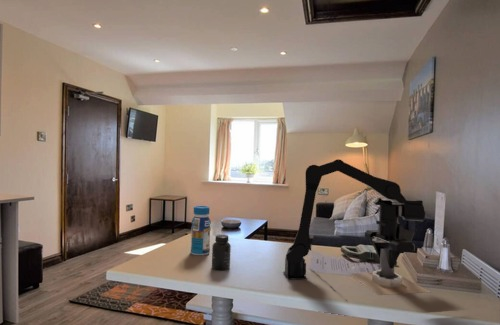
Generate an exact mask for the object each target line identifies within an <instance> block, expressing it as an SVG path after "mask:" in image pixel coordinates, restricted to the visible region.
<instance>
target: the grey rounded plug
mask: <svg viewBox="0 0 500 325" xmlns="http://www.w3.org/2000/svg"><path fill="white" fill-rule="evenodd" d="M379 270H380V276H381V277H385V278H389V279H390V278H394V272H395V267H394V268H390V267H389V264H388V259H387V254H386V250H385V248H380V263H379Z"/></svg>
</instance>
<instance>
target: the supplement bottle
mask: <svg viewBox="0 0 500 325" xmlns="http://www.w3.org/2000/svg"><path fill="white" fill-rule="evenodd" d="M214 240H215V242H214V243H212V249H211V251H212V252H211V268H212V269H213V270H214V271H220V272H224V271H227V270H229V269H230V267H231V250H232V249H231V248H232V246H231V243H229V235H227V234H217V235H215V239H214Z"/></svg>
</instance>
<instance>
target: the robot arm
mask: <svg viewBox="0 0 500 325" xmlns="http://www.w3.org/2000/svg"><path fill="white" fill-rule="evenodd" d="M335 172H339V173H342V174H344V175H345V176H348V177H349V178H352V179H354V180H356V181H358V182H360V183H362V184H364V185H366V186H367V187H370V189H372V190H373V191H375V192H376V193H377V194H379V195H380V196H382V197H383V198H386V199H382V198H381V197H377V199H376V200H374V201H373V205H375V206H379V213H378V214H379V216H378V220H376V221H375V222H376V224H377V225H378V229H367V230H365V232H364V239H367V240H370V243H371V244H372V245H371V246H373V247H374V249H375V251H376V253H377V255H378V258H379V260H380V248H385V250H386V254H387V259H388V264H389V267H390V268H394V269H395V266H396V265H395V263H396V261H397V262H398V259H399V256H400V254H401V253H405V252H406V253H408V252H410V253H411V252H413V253H414V252H415V251H416V250H415V249H416V245H415V243H414V242H413V238H414V235H415V232H412V231H411V230H408V229H405V228H404V227H403V225H402V224H401V223H400V222H399V217H400V218H402V220H404V221H413V222H415V221H417V222H424V220H425V217H426V211H425V206H424V203H423V202H424V201H423V200H422V199H421V200H420V199H415V200H413V199H406V198H405V196H404V195H403V194H402V192H401V191H402V190H401V187H400V185H399V184H398V183H396V182H395V181H392V180H388V179H385V178H380V177H377V176H374V175H371V174H369V173H367V172H366V171H364V170H361V169H359V168H356V167H355V166H354V165H351V164H348V163H346V162H344V161H343V160H342V159H338V158H337V159H335V160H333V161H330V162H328V163H324V164H321V165H317V164H312V165H308V166H307V168H306V170H305V194H304V199H303V204H302V209H301V215H300V220H299V221H300V222H299V228H298V231H297V233H296V235H295V238H294V241H293V244H292V245H291V246H290V247H288V248H287V251H286V255H285V259H284V261H285V262H284V271H283V272H282V273H283V275H284V276H286V278H287V279H288V280H301V279H303V280H304V279H307V276H306V275H307V263H306V259H305V258H304V257H306V256H308V255H309V252H310V251H312V243H313V240H314V235H313V234H311V233H310V227H311V223H312V222H311V221H312V216H313V212H314V207H315V206H314V205H315V202H316V201H315V200H316V194H317V191H318V188H319V186H320V183H321V181H322V177H324V176H326V175H330V174H333V173H335ZM392 200H393V201H394V202H396V203H393V202H392ZM371 239H372V240H371ZM388 246H389V247H388Z"/></svg>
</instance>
